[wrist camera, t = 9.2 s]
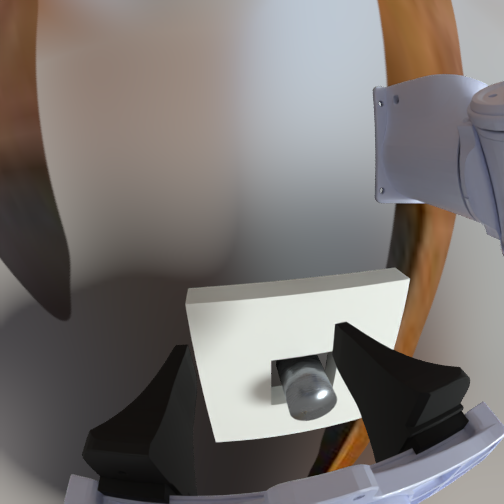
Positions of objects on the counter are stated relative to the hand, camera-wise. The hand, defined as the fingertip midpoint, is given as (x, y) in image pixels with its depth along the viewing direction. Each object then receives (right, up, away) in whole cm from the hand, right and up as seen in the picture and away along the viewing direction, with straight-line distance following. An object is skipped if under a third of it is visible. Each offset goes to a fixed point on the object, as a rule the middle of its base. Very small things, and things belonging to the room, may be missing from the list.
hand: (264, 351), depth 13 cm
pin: (+4, -6, +13) cm, 14 cm away
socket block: (+4, -6, +13) cm, 14 cm away
